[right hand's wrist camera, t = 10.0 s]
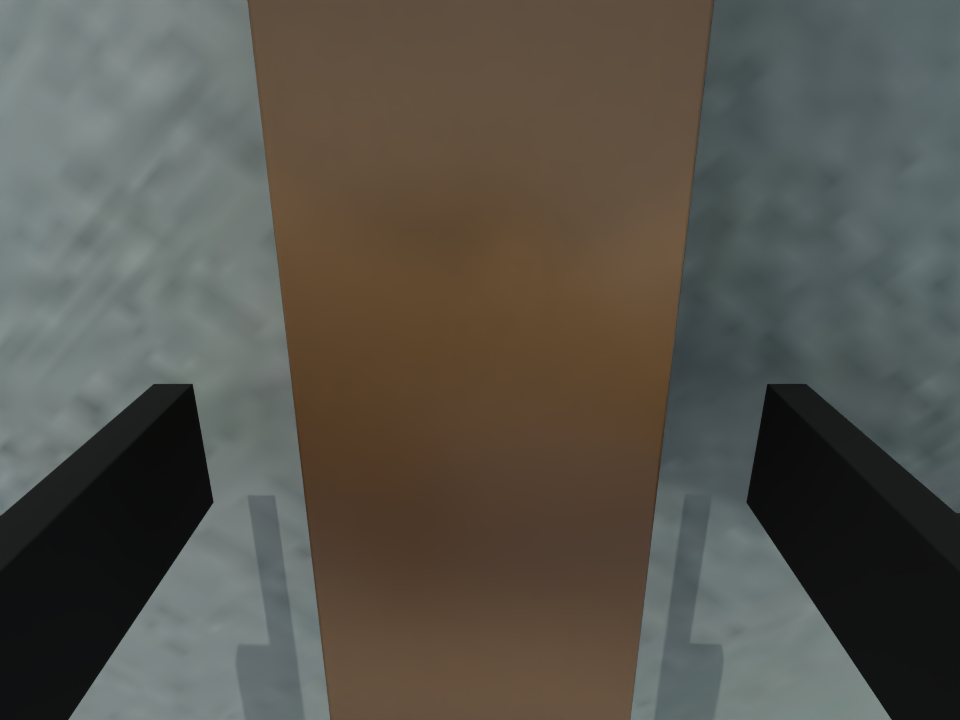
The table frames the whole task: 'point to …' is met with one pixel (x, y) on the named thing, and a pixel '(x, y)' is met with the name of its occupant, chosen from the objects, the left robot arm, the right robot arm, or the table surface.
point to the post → (480, 333)
